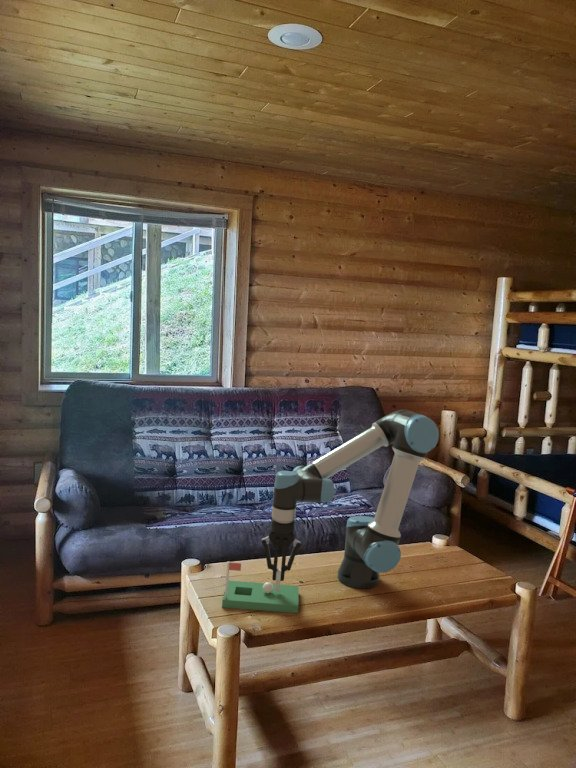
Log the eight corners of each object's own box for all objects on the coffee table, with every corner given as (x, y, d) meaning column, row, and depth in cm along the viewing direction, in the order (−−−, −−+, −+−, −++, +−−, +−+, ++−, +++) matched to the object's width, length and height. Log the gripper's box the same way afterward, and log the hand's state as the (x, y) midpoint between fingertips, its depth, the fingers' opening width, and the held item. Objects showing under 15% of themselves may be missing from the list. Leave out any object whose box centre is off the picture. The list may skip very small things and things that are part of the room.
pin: (238, 598, 186) (241, 562, 185) (238, 600, 186) (240, 563, 184) (224, 597, 187) (227, 561, 185) (224, 598, 186) (226, 562, 185)
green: (297, 593, 199) (298, 585, 199) (297, 613, 185) (298, 605, 185) (227, 587, 199) (227, 580, 199) (221, 607, 185) (222, 599, 185)
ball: (270, 578, 193) (260, 583, 193) (269, 583, 190) (260, 588, 190) (275, 587, 194) (266, 592, 194) (275, 592, 190) (266, 597, 190)
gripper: (303, 517, 193) (297, 586, 195) (263, 513, 193) (258, 582, 195) (303, 525, 186) (297, 596, 188) (262, 521, 186) (256, 593, 188)
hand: (277, 589), depth 192 cm, fingers closed
